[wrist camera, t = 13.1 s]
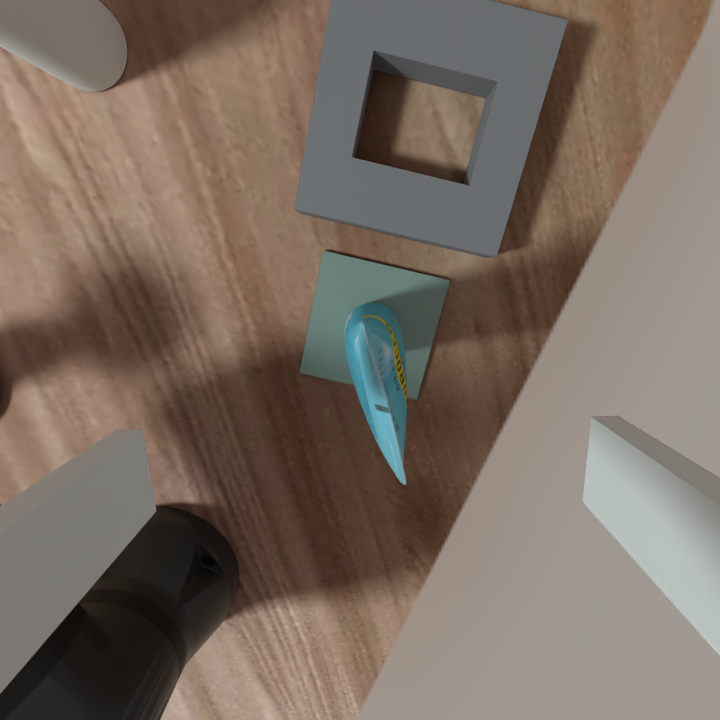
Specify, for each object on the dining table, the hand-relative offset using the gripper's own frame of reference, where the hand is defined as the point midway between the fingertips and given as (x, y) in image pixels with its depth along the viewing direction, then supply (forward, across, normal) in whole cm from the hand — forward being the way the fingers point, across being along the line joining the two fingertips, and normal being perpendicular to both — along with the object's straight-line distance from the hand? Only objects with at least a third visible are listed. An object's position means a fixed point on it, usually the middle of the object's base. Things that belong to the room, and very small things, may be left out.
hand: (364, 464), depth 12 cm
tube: (+24, +1, 0) cm, 24 cm away
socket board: (+24, +5, +16) cm, 29 cm away
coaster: (+25, 0, 0) cm, 25 cm away
